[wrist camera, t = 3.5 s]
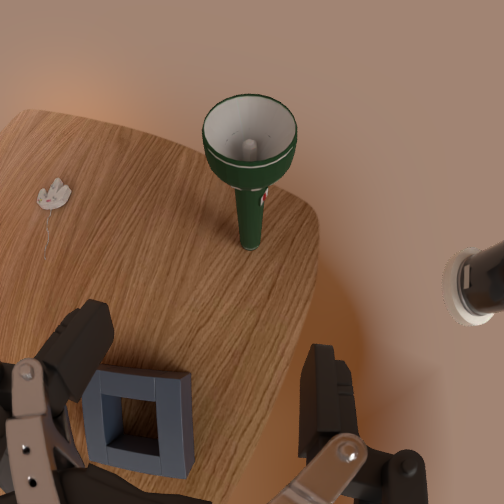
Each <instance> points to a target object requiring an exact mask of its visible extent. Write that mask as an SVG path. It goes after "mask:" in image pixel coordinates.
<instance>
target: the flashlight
mask: <svg viewBox="0 0 504 504" xmlns="http://www.w3.org/2000/svg"><path fill="white" fill-rule="evenodd" d="M202 137H203V145H204V149H205V155H206V158H207V161H208V163H209V165H210V167H211V170H212V171H213V172H214V173H215V174H216V175H217V176H218V177H219V178H220V180H222V181H224V182H225V183H227V184H228V185H230V186H231V187H233V188H235V196H236V206H237V215H238V224H239V234H240V242H241V245H242V247H243V248H244V249H246V250H249V251H251V250H255V249H256V248H258V246H259V244H260V239H261V229H262V218H263V208H264V200H265V199H266V196H267V193H268V186H271V185H273V184H274V183H275V182H277V181H278V180H279V179H280V178H281V177H282V176H283V175H284V174H285V172H286V171H287V170H288V169H289V167H290V165H291V162H292V159H293V156H294V153H295V148H296V143H297V124H296V121H295V119H294V116H293V115H292V113H291V112H290V110H289V109H288V108H287V107H286V106H285V105H283V104H282V103H281V102H279V101H277V100H275V99H273V98H271V97H268V96H264V95H260V94H241V95H236V96H233V97H230V98H226V99H225V100H223V101H221V102H219V103H217V104H216V105H215V106H214V107H213V108H212V109H211V110H210V111H209V113H208V114H207V116H206V117H205V120H204V124H203V128H202Z"/></svg>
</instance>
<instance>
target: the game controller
mask: <svg viewBox="0 0 504 504" xmlns="http://www.w3.org/2000/svg"><path fill="white" fill-rule="evenodd" d="M70 194H71V190H70V188H69V187H68V186H67V185H64V186H63V183H62V181H61V180H60V178H56V179H55V180H54V182H53V184H51V187H50V189H49V191H48V193H47V191H46V190H45V189H44V188H43V189H41V190H40V192H39V194H38V198H37V203H38V204H39V205H40V207H41V208H43V209H47V210H48V209H51V210H52V209H55V208H58V207H61V206H63V205H64V204H65V203H66V202H67V200H68V198H69V196H70ZM50 215H51V213H50ZM49 217H50V216H49ZM49 217H48V218H49ZM47 223H48V220H47ZM47 231H48V230H47ZM48 240H49V232H48ZM47 244H48V242H47ZM46 246H47V245H46ZM45 249H46V247H45ZM45 260H46V259H45Z"/></svg>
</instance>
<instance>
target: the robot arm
mask: <svg viewBox="0 0 504 504" xmlns="http://www.w3.org/2000/svg"><path fill="white" fill-rule="evenodd" d="M457 291H458V295H459V298H460V301H461V303H462V305H463V307H464V308H465V309H466V311H467V312H468V313H470V314H471V315H473V316H484V315H487V314H491V313H497V312H502V311H504V241H502V242H499V243H497V244H495V245H493V246H491V247H489V248H487V249H485V250H483V251H481V252H478V253H476V254H473V255H470V256H468V257H467V258H465V259H464V260H463V261H462V263H461V265H460V267H459V270H458V274H457ZM113 339H114V328H113V324H112V320H111V316H110V312H109V308H108V305H107V304H106V303H103V302H100V301H96V300H92V299H89V300H87V301H86V303H85V304H84V305H83V306H82V307H81V309H79V308H77V309H75V310H74V311H72V312H71V313H69V314H68V315H67V316H66V317H65V318H64V320H63V321H62V322H61V325H59V326H58V327H57V328H56V330H55V332H53V334H52V335H51V336H50V337H49V339H48V340H47V341H46V343H45V344H44V345H43V347H42V348H41V349H40V351H39V352H38V353H37V355H36V356H35V357H34V358H25V359H22V360H20V361H19V362H18V363H17V364H9V363H3V362H1V361H0V462H1V459H2V457H3V455H4V452H5V450H6V448H7V447H8V455H9V462H10V469H11V475H12V480H13V485H14V490H15V491H12V492H9V493H7V494H4V495H1V496H0V504H212V502H211V501H206V500H201V499H196V498H192V497H187V496H183V495H179V494H160V493H148V492H144V491H142V490H140V489H138V488H137V487H135V486H133V485H132V484H130V483H129V482H127V481H126V480H124V479H122V478H121V477H119V476H118V475H116V474H114V473H112V472H109V471H107V470H104V469H102V468H100V467H97V466H95V465H93V464H90V463H89V465H88V468H85V467H84V464H83V461H82V459H81V456H80V454H79V453H78V451H77V449H76V446H75V443H74V439H73V435H72V430H71V426H70V421H69V416H68V410H67V406H66V403H67V401H68V399H69V400H71V401H74V402H76V403H78V402H79V400H80V398H81V397H82V395H83V393H84V391H85V389H86V388H87V386H88V384H89V382H90V380H91V379H92V377H93V375H94V373H95V372H96V370H97V368H98V366H99V365H100V363H101V361H102V360H103V358H104V356H105V355H106V353H107V351H108V350H109V348H110V346H111V344H112V342H113ZM353 394H354V392H353V386H352V378H351V372H350V370H349V368H348V367H347V365H346V364H345V362H344V361H341V360H335V357H334V349H333V346H330V345H322V344H312V345H311V348H310V350H309V353H308V356H307V358H306V361H305V363H304V366H303V369H302V373H301V379H300V416H299V447H298V457H299V458H306V467H305V468H304V469H303V470H302V471H301V472H300V473H299V474H298V475H297V476H296V477H295V478H294V479H293V480H292V481H291V482H290V483H289V484H288V485H287V486H286V487H285V488H283V490H281V491H280V493H278V494H277V495H276V496H275V497H274V498H273V499H272V500H270V501H269V502H268V503H267V504H332V503H333V502H334V501H335V500H336V499H337V498H338V496H339V495H344V496H348V497H352V498H354V504H428V493H427V481H426V470H425V463H424V460H423V458H422V457H421V456H420V455H419V454H418V453H417V452H415V451H413V450H407V449H406V450H401V451H399V452H397V453H396V454H394V455H393V454H389V453H385V452H381V451H378V450H374V449H372V448H370V447H368V446H367V445H366V444H365V443H364V441H363V440H362V439H361V438H360V436H359V433H358V426H357V417H356V409H355V400H354V396H353Z"/></svg>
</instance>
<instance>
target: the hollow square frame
mask: <svg viewBox="0 0 504 504" xmlns="http://www.w3.org/2000/svg"><path fill="white" fill-rule="evenodd" d="M121 397H124V398H131V399H138V400H145V401H154V402H156V413H157V429H158V439H152V438H145V437H139V436H133V435H128V434H124V430H123V419H122V406H121ZM82 408H83V418H84V427H85V435H86V442H87V449H88V455H89V460H91V461H94V462H98V463H101V464H105V465H110V466H114V467H118V468H122V469H126V470H131V471H136V472H141V473H146V474H152V475H158V476H164V477H171V478H179V479H186V478H187V476H188V474H189V472H190V470H191V468H192V466H193V464H194V462H195V457H194V441H193V422H192V395H191V373H188V372H172V371H169V372H168V371H159V370H148V369H138V368H129V367H121V366H113V365H106V364H100V365H99V366H98V368H97V370H96V372H95V373H94V375H93V377H92V379H91V380H90V382H89V384H88V386H87V388H86V389H85V391H84V393H83V395H82Z"/></svg>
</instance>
